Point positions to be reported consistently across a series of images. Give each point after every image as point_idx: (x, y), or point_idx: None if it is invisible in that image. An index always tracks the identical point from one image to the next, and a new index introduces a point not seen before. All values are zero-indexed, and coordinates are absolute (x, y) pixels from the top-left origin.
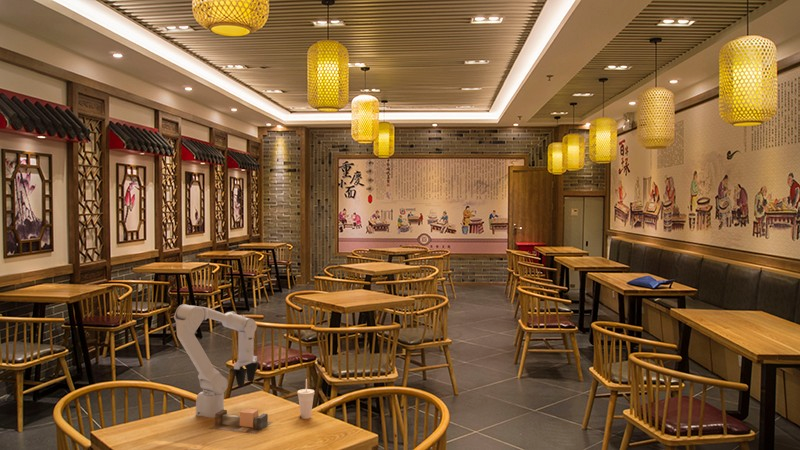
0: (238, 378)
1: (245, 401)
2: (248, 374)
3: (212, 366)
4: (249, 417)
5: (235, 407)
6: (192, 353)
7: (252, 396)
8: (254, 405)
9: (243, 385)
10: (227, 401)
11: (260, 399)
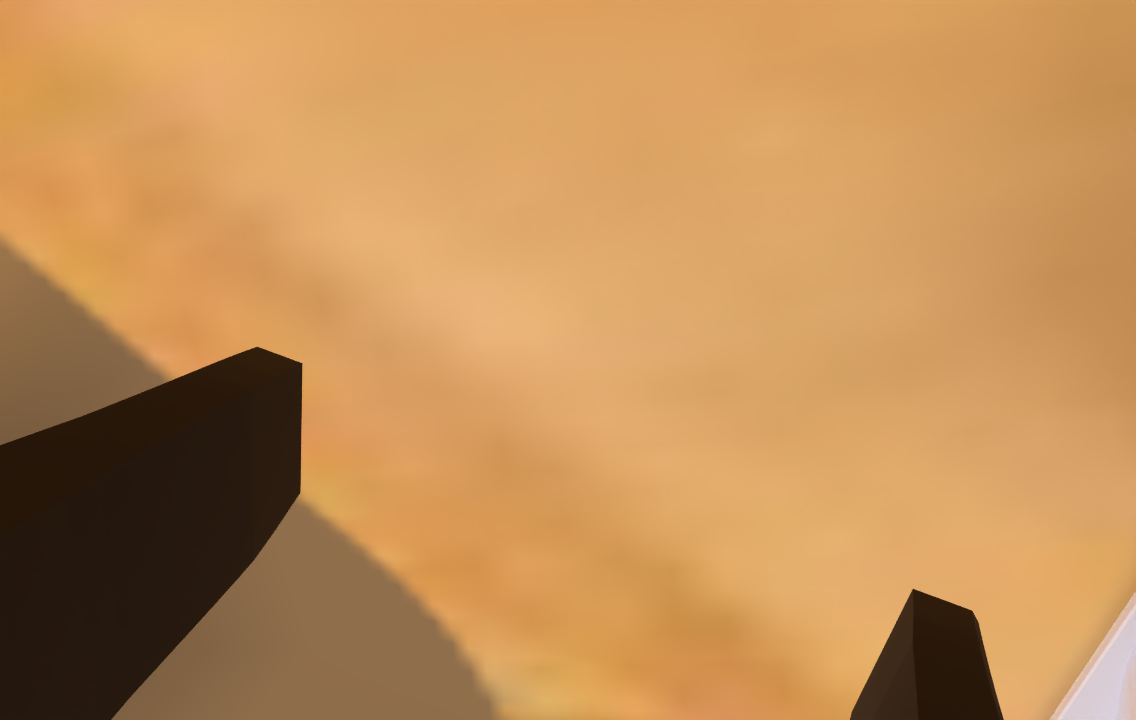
0: None
1: (386, 275)
2: (156, 623)
3: None
4: None
5: (740, 392)
6: None
7: (120, 208)
8: (589, 54)
9: (935, 611)
10: (442, 534)
11: (216, 23)
